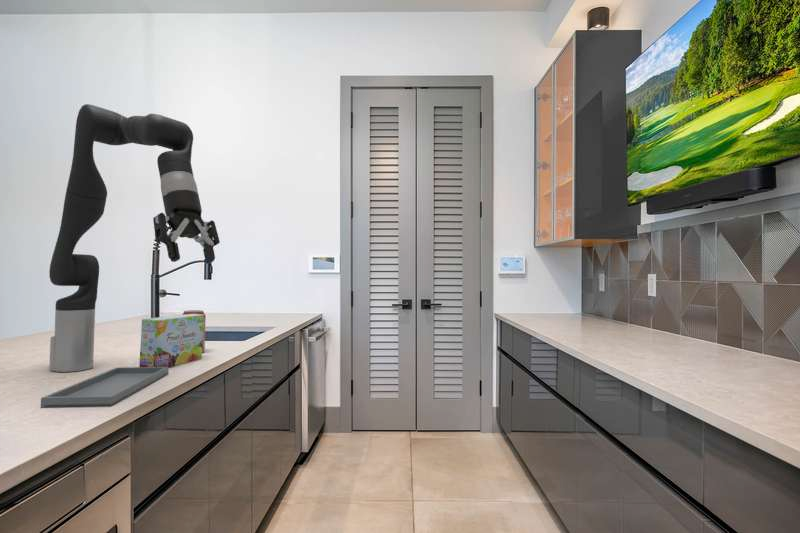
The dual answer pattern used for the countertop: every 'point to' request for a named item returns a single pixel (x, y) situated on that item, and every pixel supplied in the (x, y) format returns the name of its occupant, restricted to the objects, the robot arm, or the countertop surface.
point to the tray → (105, 387)
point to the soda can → (203, 324)
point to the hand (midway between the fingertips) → (193, 261)
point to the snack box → (171, 340)
